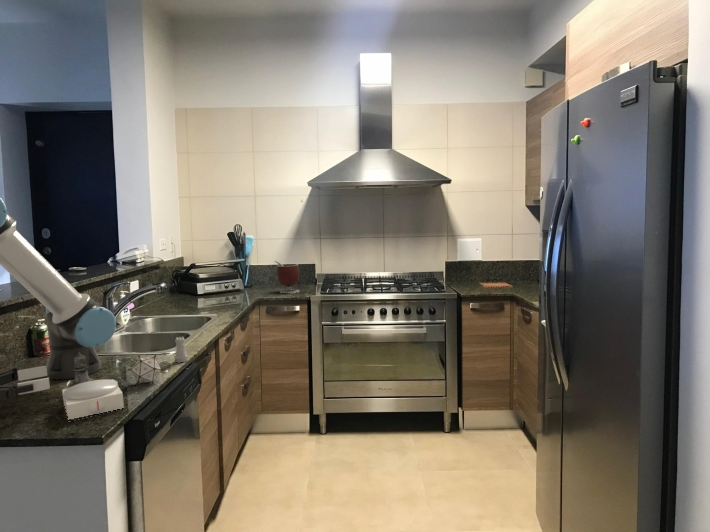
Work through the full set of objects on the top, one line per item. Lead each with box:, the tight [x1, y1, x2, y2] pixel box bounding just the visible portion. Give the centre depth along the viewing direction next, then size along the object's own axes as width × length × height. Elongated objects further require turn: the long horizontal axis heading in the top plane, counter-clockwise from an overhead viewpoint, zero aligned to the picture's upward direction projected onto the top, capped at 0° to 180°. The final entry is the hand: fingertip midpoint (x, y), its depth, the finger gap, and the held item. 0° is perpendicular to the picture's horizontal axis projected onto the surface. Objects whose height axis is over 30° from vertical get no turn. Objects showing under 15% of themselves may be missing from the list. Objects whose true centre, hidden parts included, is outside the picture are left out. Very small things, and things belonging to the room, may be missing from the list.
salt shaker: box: [69, 352, 95, 387], centre depth 132 cm, size 6×6×12 cm
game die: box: [126, 354, 165, 386], centre depth 140 cm, size 9×8×10 cm
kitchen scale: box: [62, 378, 125, 421], centre depth 123 cm, size 14×12×5 cm
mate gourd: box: [274, 260, 301, 294], centre depth 306 cm, size 16×14×20 cm
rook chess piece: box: [174, 336, 189, 364], centre depth 161 cm, size 4×4×8 cm
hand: (48, 376), depth 128 cm, fingers open, 13 cm apart
